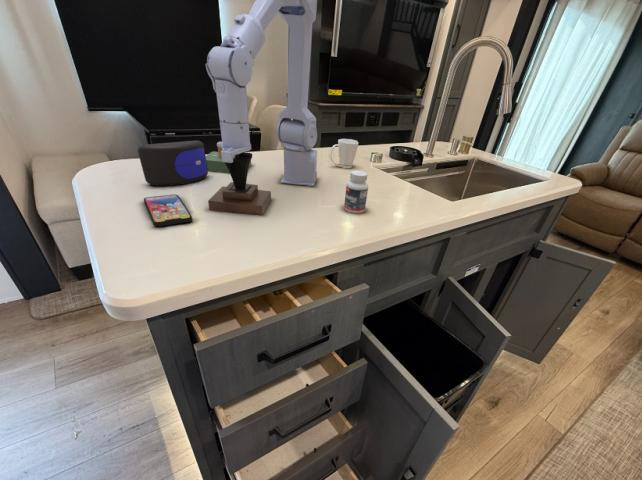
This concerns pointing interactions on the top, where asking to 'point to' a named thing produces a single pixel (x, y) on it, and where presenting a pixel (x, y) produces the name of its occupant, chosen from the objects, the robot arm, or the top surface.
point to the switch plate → (240, 200)
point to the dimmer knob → (219, 151)
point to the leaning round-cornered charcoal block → (173, 162)
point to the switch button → (241, 189)
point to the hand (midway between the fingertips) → (240, 187)
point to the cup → (345, 152)
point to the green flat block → (216, 163)
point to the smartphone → (167, 210)
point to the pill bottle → (356, 192)
